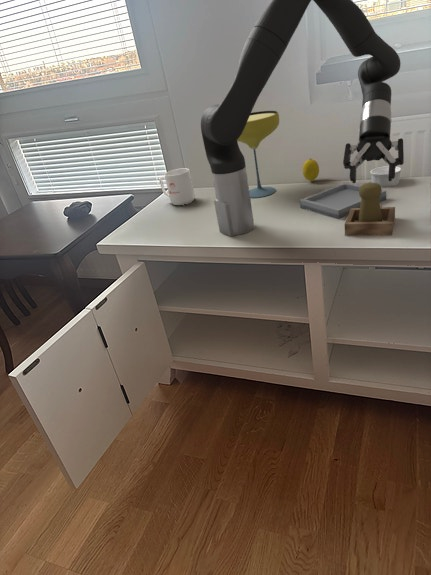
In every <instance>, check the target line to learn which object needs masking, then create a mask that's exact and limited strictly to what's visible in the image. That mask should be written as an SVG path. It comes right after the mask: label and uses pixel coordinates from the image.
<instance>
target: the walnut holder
mask: <svg viewBox="0 0 431 575" xmlns="http://www.w3.org/2000/svg"><path fill="white" fill-rule="evenodd" d="M380 207H381V214H382V221H383V222H358V221H359V213H360V208H351V209H350V212H349V214H348V216H346V219H345V222H344V236H393V232H394V227H395V226H394V225H395V219H396V206H380Z"/></svg>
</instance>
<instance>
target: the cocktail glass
mask: <svg viewBox="0 0 431 575" xmlns="http://www.w3.org/2000/svg"><path fill="white" fill-rule="evenodd" d="M279 125H280V114H279V112H278V111H277V110H262V111H254V112H253V111H252V112H251V114H250V116H249V119H248V121H247V123H246V126H245V128H244V130H243V132H242V134H241V136H240V137H239V138H238V140H237V142H241V143H243V144H245V145H247V146H248V147H249V148H250V149H251V150H253V156H254V164H255V171H256V181H257V184H256V187H255V188H252V189H249V193H250V199H260V198H265V197H269V196H272V195H273V194H274V193H275V192H276V188H275V187H272V186H262V185H261V180H260V175H259V166H258V158H257V153H256V152H257V151H256V149H258V147H259V146H260V143H261V142H262V141H263V140H265V139H266V138H267V137H268V136H270V135H271V134H273V133H274V131H275V130H276V129H277V128H278V127H279Z"/></svg>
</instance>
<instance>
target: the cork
mask: <svg viewBox="0 0 431 575" xmlns="http://www.w3.org/2000/svg"><path fill="white" fill-rule="evenodd" d="M360 186H361V187H360V188H359V195H360V197H361V205H360V213H359V220H357V222H384V220H382V214H381V207H382V206H381V202H380V200H379V196H380V195H381V192H382V190H383V189H382V187H381V186H380V185H379V184H378V183H372V182H367V183H363V184H362V185H360Z"/></svg>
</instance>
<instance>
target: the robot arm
mask: <svg viewBox="0 0 431 575" xmlns="http://www.w3.org/2000/svg"><path fill="white" fill-rule="evenodd" d="M311 1H313V2H314V4H316V5H317V7H318V8H319V9H320V11H321V12H322V13H323V14H324V15H325V16H326V18H327V19H328V20H329V22H330V23H331V24H332V26H333V27H334V28H335V29H334V30H336V31H337V33H338V35H339V36H340V38H341V39H342V41H343V43H344V44H345V47H347V49H348V50H349V52H350V54H351V55H352V56H353V57H355V58H358V57H362V56H371V57H369V58H367V59H365V60H363V62H362V63H361V64H360V66H359V68H358V69H357V77H358V81H359V84H360V90H361V93H362V103H361V104H362V106H361V113H360V117H359V118H360V120H359V131H358V132H359V136H358V142H357V144H355V145H354V144H351V143H346V144H345V146H344V147H345V148H344V154H343V162H342V164H343V168H344V169H345V170H347V169H348V170H349V181H350V182H352V184H355V183H357V182H356V181H357V173H358V172H357V169H358V168H359V167H360V166H361V165H362V164H363V163H364V162H365V161H366V162H371V161H381V159H382V160H383V161H384V162H385V163H386V164H388V166H389V177H388V179H389V181H392V179H394V177H395V167H396V166H397V167H398V166H402V165H404V163H405V160H404V159H405V158H404V157H405V156H404V139H403V138H398V140H395V141H391V129H392V128H391V126H392V125H391V124H392V108H391V107H392V106H391V105H392V89H391V86H390V84H388V83H387V82H385V81H387V80H389V79H391V78H393V77H394V76H396V75H397V74H398V73H399V71H400V69H401V64H402V63H401V58H400V56H399V54H398V53H397V51H396V50H395V49H394V48H393V47H392V46H390V44H388V43H387V42H386V41H385V40H384V39H383V38H381V36H380V35H379V34H377V32H376V31H375V29H374V28H373V26H372V23H371V22H370V20H369V18H367V16H366V14H365V13H364V12H363V11H362V9H361V8H360V7H359V6H358V5H357V4H356V3H355V2H354V1H353V0H271V1H270V2H269V3H268V5H267V7H266V8H265V9H264V11H263V12H262V13H261V14H260V16H259V18H258V19H257V20H256V22H255V24H254V25H253V28H252V29H251V31H250V33H249V35H248V37H247V39H246V40H245V43H244V45H243V48H242V49H241V50H242V51H241V52H240V56H239V60H238V65H237V69H236V72H235V77H234V80H233V82H232V84H231V85H230V87H229V90H228V91H227V92H226V94H225V96H224V97H223V100H222V101H221V102H220V104H214V105H210V106H209V107H207V108H206V109H205V110H204V112H203V113H202V116H201V118H200V130H201V132H200V133H201V135H202V136H201V137H202V142H203V146H204V147H203V148H204V151H205V155H206V159H207V162H208V164H209V167H210V172H211V177H212V181H213V182H212V183H213V186H214V191H215V197H216V199H214V200H213V203H214V207H215V208H214V209H215V214H216V217H217V218H216V220H217V224H218V225H217V226H218V229H219V232H220V233H222V234H225V235H226V236H229V237H232V236H238V235H243V234H247V233H248V232H251V231H252V230H254V229H255V222H254V214H253V207H252V200H251V199H252V198H250V193H249V190H250V187H249V180H248V174H247V167H246V166H247V165H246V158H245V156H244V154H243V152H242V151H241V150H240V147H239V143H238V142H239V141H237V140H238V138H239V137H240V136H241V134H242V132H243V130H244V128H245V126H246V123H247V121H248V119H249V116H250V114H251V113H253V109H254V106H255V105H256V102H257V100H258V98H259V96H260V95H261V93H262V92H263V90H264V88H265V87H266V85H267V83H268V81H269V79H270V77H271V76H272V74H273V73H274V70H275V69H276V67H277V65H278V64H279V62H280V60H281V59H282V57H283V55H284V53H285V51H286V50H287V47H288V45H289V43H290V41H291V40H292V37H293V36H294V34H295V33H296V30H297V28H298V26H299V24H300V23H301V20H302V18H303V16H304V14H305V13H306V11H307V9H308V6H309V5H310V3H311ZM392 148H393V149H394V150H395V151H397V157H395V158H394V156H393V155H392V153H391V152H390V150H391V149H392ZM355 151H356V152H357V154H356V155H355V157H354V159H353V160H351V155H353V154H354V152H355Z"/></svg>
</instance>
